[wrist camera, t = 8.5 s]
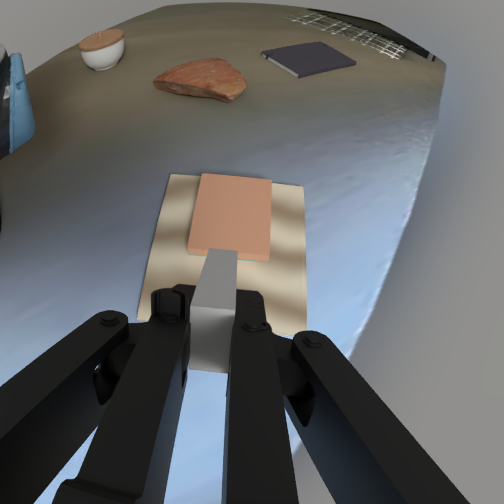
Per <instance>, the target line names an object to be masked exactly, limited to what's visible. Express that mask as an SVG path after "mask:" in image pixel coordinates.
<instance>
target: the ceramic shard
mask: <svg viewBox="0 0 504 504" xmlns="http://www.w3.org/2000/svg"><path fill="white" fill-rule="evenodd" d="M153 83H154V85H155V87H156V88H157V89H159V90H163V91H169V92H173V93H177V94H185V95H192V96H197V97H212V98H216V99H218V100H221V101H223V102H226V103H231V102H233V101H234V100H235V99H236V98H238V97H239V96H240V95H241V94H242V92H243V91H244V90H245V89H246V87H247V83H246V81H245V79H244V77H243V76H242V75H241V74H240V73H239V72H238V71H237V70H236V69H235V68H233V67H232V66H231V65H230V64H229V63H228V62H227V61H226V60H223V59H219V58H210V59H203V60H197V61H192V62H188V63H185V64H182V65H179V66H177V67H174V68H172V69H170V70H168V71H166V72H164V73H162V74H161V75H159V76H158V77H156V78H155V79H154V80H153Z"/></svg>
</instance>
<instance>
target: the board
mask: <svg viewBox="0 0 504 504" xmlns="http://www.w3.org/2000/svg"><path fill="white" fill-rule="evenodd" d="M200 181H201V176H192V175H178V174H171V176H170V179H169V183H168V186H167V190H166V193H165V197H164V201H163V204H162V208H161V212H160V216H159V219H158V223H157V227H156V231H155V235H154V239H153V244H152V248H151V252H150V256H149V261H148V265H147V270H146V274H145V279H144V284H143V289H142V294H141V299H140V304H139V309H138V315H137V319H138V320H139V321H144V322H148V320H149V318H150V316H151V293H152V292H153V291H155V290H157V289H161V288H172V287H174V286H175V285H177V284H187V285H196V286H197V283H198V280H199V277H200V274H201V271H202V268H203V265H204V262H205V259H206V256H196V255H188V249H187V247H188V241H189V236H190V230H191V225H192V220H193V215H194V210H195V205H196V200H197V195H198V190H199V185H200ZM236 289H243V290H253V291H258V292H259V293H260V294H261V295H262V296H263V299H264V306H265V313H266V319H267V322H268V323H269V324H270V325H271V327H272V332H273V333H274V334H276V335H278V336H294V335H295V334H296V333H298V332H300V331H307V289H306V240H305V212H304V190H303V187H300V186H292V185H284V184H276V183H272V199H271V230H270V256H269V259H268V262H257V261H247V260H237V283H236Z"/></svg>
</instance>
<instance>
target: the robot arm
mask: <svg viewBox="0 0 504 504" xmlns="http://www.w3.org/2000/svg"><path fill="white" fill-rule="evenodd" d="M34 132H35V120H34V115H33V110H32V105H31V101H30V96H29V91H28V86H27V81H26V75H25V70H24V65H23V60H22V55H21V54H20V53H16V54H14V53H13V54H11V55H10V56H9V57H8V54H7V52H6V49H5V46H4V45H3V44H1V43H0V160H1V159H2V158H4V157H5V156H7V155H8V154H9V155H11V154H12V153H13V151H14V150H15V149H17V148H18V147H20V146H21V145H23V144H24V143H26V142H27V141H29V140H30V139H31V138H32V136H33V134H34ZM0 229H1V217H0ZM237 259H238V251H234V250H224V249H214V248H209V250H208V253H207V256H206V259H205V262H204V265H203V268H202V271H201V274H200V277H199V280H198V283H197V286H196V285H187V284H177V285H175V286H174V287H172V288H161V289H157V290H155V291H153V292H152V293H151V316H150V318H149V320H148V322H144V323H128V317H127V316H126V315H125V314H123V313H121V312H118V311H114V310H111V311H110V310H107V311H103V312H99V313H97V314H95V315H94V316H93V317H91V318H90V319H88V320H87V321H86V322H84V323H83V324H82V325H80V326H79V327H78V328H76V329H75V330H73V331H72V332H71V333H69V334H68V335H67V336H65V337H64V338H63V339H61V340H60V341H59V342H57V343H56V344H55V345H53V346H52V347H51V348H49V349H48V350H47V351H46V352H44V353H43V354H42V355H40V356H39V357H38V358H36V359H35V360H34V361H32V362H31V363H30V364H29V365H27V366H26V367H25V368H23V369H22V370H21V371H20V372H18V373H17V374H16V375H15V376H13V377H12V378H11V379H9V380H8V381H7V382H6V383H4V384H3V385H2V386H1V387H0V504H34V502H35V501H36V500H37V499H38V497H39V496H40V495H41V494H42V493H43V491H44V490H45V489H46V488H47V486H48V485H49V484H50V483H51V482H52V480H53V479H54V478H55V477H56V476H57V474H58V473H59V472H60V471H61V469H62V468H63V467H64V466H65V465H66V463H67V462H68V461H69V460H70V459H71V457H72V456H73V455H74V454H75V453H76V451H77V450H78V449H79V448H80V446H81V445H82V444H83V443H84V442H85V440H86V439H87V438H88V437H89V436H90V434H91V433H92V432H93V431H94V430H95V428H96V427H97V426H98V425H99V426H98V428H97V430H96V432H95V435H94V437H93V439H92V442H91V444H90V447H89V449H88V451H87V454H86V456H85V459H84V461H83V463H82V466H81V468H80V471H79V473H78V475H77V477H76V478H74V479H66V480H65V481H63V482H62V483H61V484H60V486H59V488H58V490H57V492H56V494H55V497H54V499H53V502H52V504H164V498H165V492H166V486H167V480H168V475H169V469H170V463H171V458H172V453H173V447H174V442H175V437H176V432H177V426H178V421H179V416H180V411H181V406H182V401H183V397H184V392H185V387H186V382H187V367H188V363H189V369H191V370H200V371H209V372H218V373H228V380H227V390H226V414H225V434H224V455H223V478H222V502H221V504H299V501H298V495H297V488H296V481H295V474H294V467H293V461H292V454H291V448H290V441H289V434H288V428H287V421H286V415H285V409H286V411H287V413H288V415H289V417H290V419H291V421H292V423H293V425H294V426H295V428H296V430H297V432H298V434H299V436H300V438H301V440H302V442H303V444H304V446H305V447H306V449H307V451H308V453H309V455H310V457H311V459H312V461H313V462H314V464H315V466H316V468H317V470H318V472H319V474H320V476H321V477H322V479H323V481H324V483H325V485H326V487H327V488H328V490H329V492H330V494H331V496H332V497H333V499H334V501H335V503H336V504H470V503H469V502H468V501H467V500H466V499H465V497H464V496H463V495H462V494H461V493H460V491H459V490H458V489H457V488H456V487H455V485H454V484H453V483H452V482H451V481H450V480H449V478H448V477H447V476H446V475H445V474H444V473H443V471H442V470H441V469H440V468H439V467H438V465H437V464H436V463H435V462H434V461H433V459H431V457H430V456H429V455H428V454H427V453H426V451H425V450H424V449H423V448H422V447H421V445H420V444H419V443H418V442H417V441H416V440H415V438H414V437H413V436H412V435H411V434H410V432H409V431H408V430H407V429H406V428H405V427H404V425H403V424H402V423H401V422H400V421H399V420H398V418H397V417H396V416H395V415H394V414H393V412H392V411H391V410H390V409H389V408H388V407H387V405H386V404H385V403H384V402H383V401H382V400H381V398H380V397H379V396H378V395H377V394H376V393H375V391H374V390H373V389H372V388H371V387H370V385H369V384H368V383H367V382H366V381H365V380H364V378H363V377H362V376H361V375H360V374H359V373H358V371H357V370H356V369H355V368H354V367H353V366H352V364H351V363H350V362H349V361H348V360H347V359H346V357H345V356H344V355H343V354H342V353H341V352H340V350H339V349H338V348H337V347H336V346H335V345H334V343H333V342H332V341H331V340H330V339H329V338H328V337H327V336H326V335H324V334H321V333H319V332H317V331H311V330H310V331H300V332H298V333H296V334H295V335H294V337H293V340H292V339H288V338H284V337H281V336H278V335H276V334H274V333H273V332H272V327H271V325H270V324H269V323H268V322H267V319H266V313H265V306H264V299H263V296H262V295H261V294H260V293H259V292H258V291H253V290H243V289H236V283H237ZM97 365H98V368H97V369H96V370H95V368H96V367H97ZM284 407H285V409H284Z"/></svg>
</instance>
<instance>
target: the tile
mask: <svg viewBox="0 0 504 504" xmlns="http://www.w3.org/2000/svg"><path fill="white" fill-rule="evenodd" d="M271 199H272V180H268V179H259V178H249V177H239V176H229V175H218V174H206V173H202V176H201V181H200V185H199V190H198V195H197V200H196V205H195V210H194V215H193V220H192V225H191V230H190V236H189V241H188V247H187V249H188V255H196V256H207V253H208V250H209V248H214V249H224V250H234V251H238V259H237V260H247V261H257V262H268V259H269V256H270V230H271Z"/></svg>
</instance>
